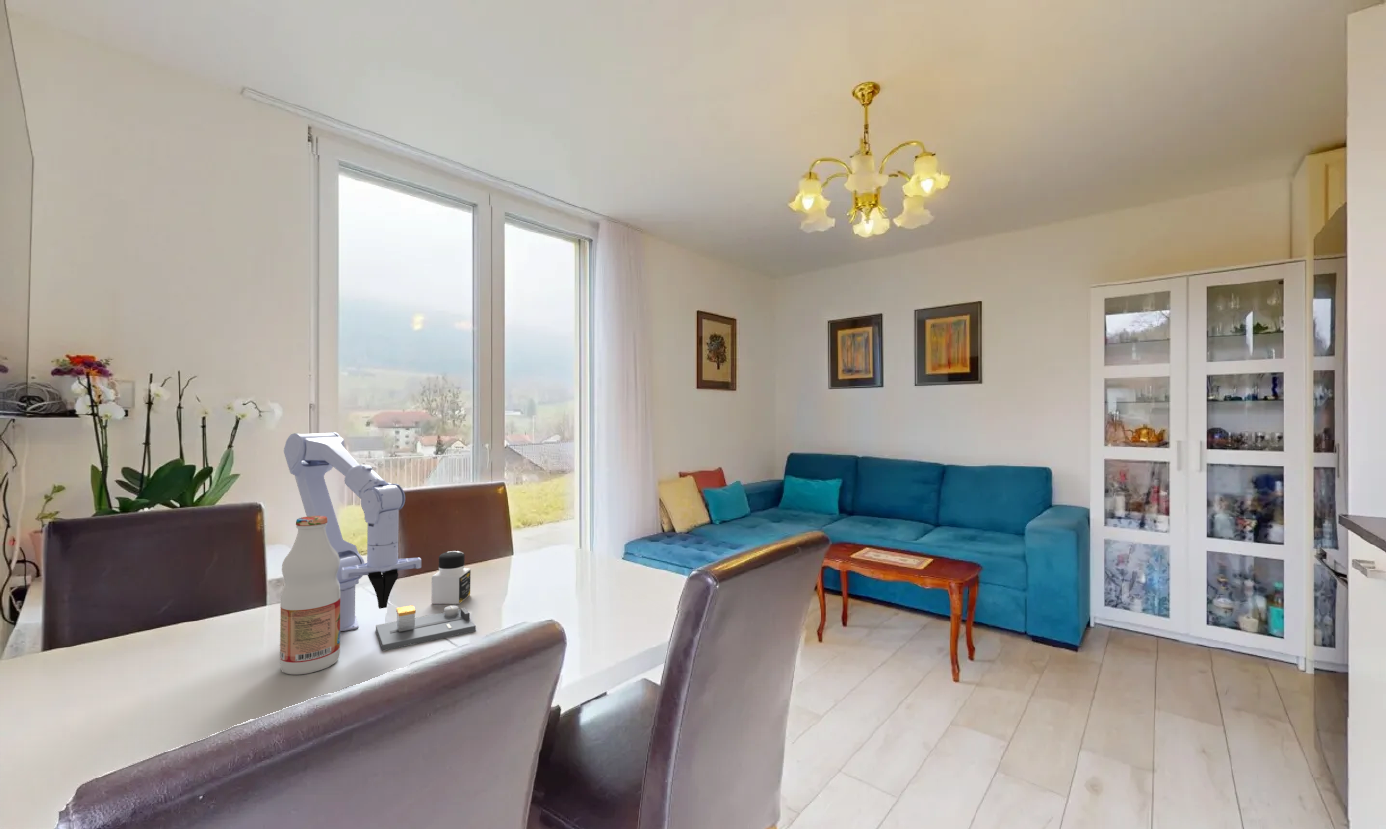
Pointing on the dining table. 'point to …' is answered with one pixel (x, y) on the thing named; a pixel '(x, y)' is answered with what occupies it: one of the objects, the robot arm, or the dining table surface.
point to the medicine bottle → (451, 579)
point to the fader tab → (405, 618)
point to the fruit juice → (310, 601)
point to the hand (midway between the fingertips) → (382, 606)
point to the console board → (426, 628)
